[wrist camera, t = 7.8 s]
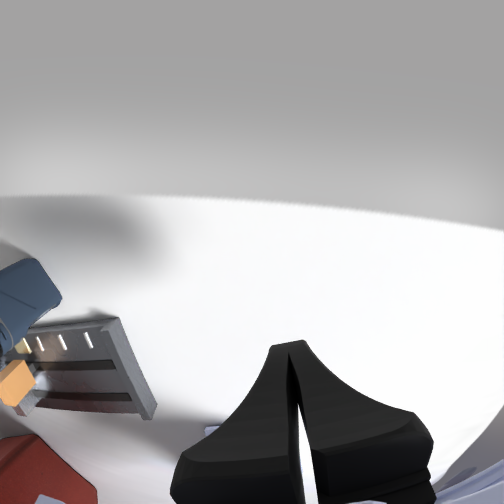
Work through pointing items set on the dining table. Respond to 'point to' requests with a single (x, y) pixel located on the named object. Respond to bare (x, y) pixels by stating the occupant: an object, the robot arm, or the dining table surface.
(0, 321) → the vaping device
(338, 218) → the dining table surface
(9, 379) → the orange fader
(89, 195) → the dining table surface
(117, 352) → the mixer console
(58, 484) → the plant pot
